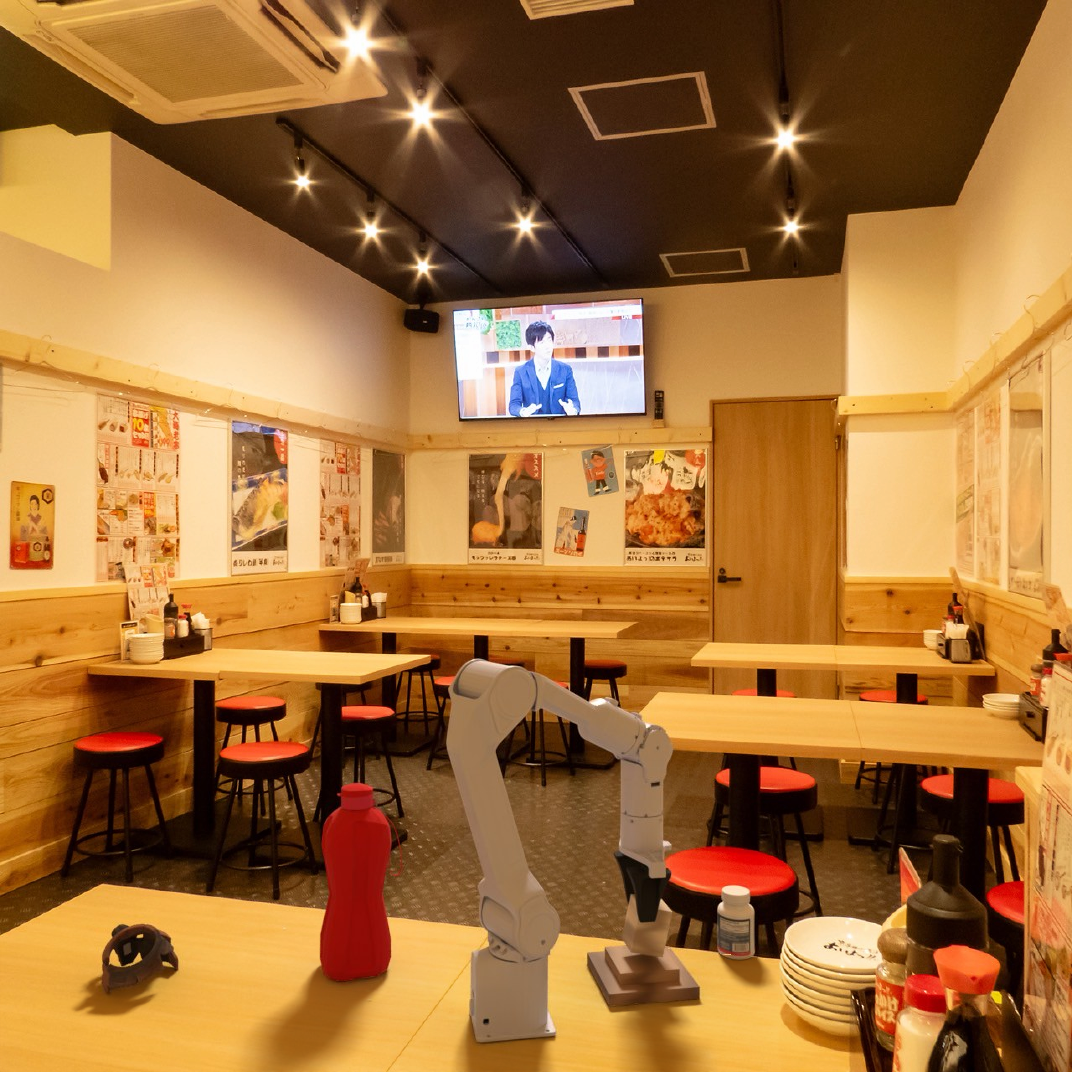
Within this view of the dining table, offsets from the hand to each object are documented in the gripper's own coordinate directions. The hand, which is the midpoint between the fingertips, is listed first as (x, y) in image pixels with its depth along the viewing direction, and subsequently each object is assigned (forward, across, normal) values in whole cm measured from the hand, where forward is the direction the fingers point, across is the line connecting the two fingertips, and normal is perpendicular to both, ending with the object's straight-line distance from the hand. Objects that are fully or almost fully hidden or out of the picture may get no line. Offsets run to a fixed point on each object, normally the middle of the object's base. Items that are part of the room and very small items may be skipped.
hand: (641, 913), depth 119 cm
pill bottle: (+9, +6, -16) cm, 19 cm away
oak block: (+4, 0, 0) cm, 5 cm away
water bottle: (+9, +10, +37) cm, 39 cm away
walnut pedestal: (+9, 0, 0) cm, 9 cm away
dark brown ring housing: (+9, +12, +66) cm, 68 cm away
